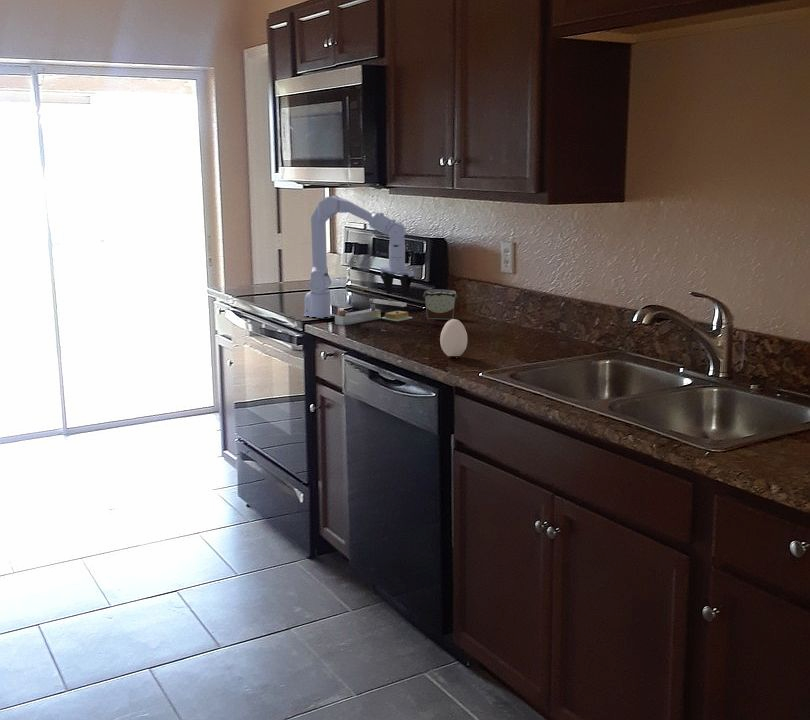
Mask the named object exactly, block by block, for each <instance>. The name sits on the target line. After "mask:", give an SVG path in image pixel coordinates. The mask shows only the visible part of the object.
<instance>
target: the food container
mask: <svg viewBox="0 0 810 720" xmlns="http://www.w3.org/2000/svg"><path fill="white" fill-rule="evenodd" d="M422 297H423V298H424V300H425V309H426V310H425V311H426V318H427V319H426V320H452V319H454V314H455V304H456V303H455V302H456V298H458V295H457V292H456V291H455V290H451V289H428V290H425V291H424V293H423V295H422Z"/></svg>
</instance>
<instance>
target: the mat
mask: <svg viewBox="0 0 810 720" xmlns="http://www.w3.org/2000/svg"><path fill="white" fill-rule="evenodd" d="M381 319H382V320H388V321H394V322H401V321H402V322H403V321H406V320H411V319H413V317H412V316H408V317H406V318H401V319H396V320H395V319H388V318H385V316H382V317H381Z"/></svg>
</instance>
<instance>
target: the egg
mask: <svg viewBox="0 0 810 720" xmlns="http://www.w3.org/2000/svg"><path fill="white" fill-rule="evenodd" d="M439 341H440V342H439V343H440V348H441V350H442V351H443V353H444V354H445V355H446V356H447V357H449V356H459V357H460V356H461V355H462V354H464V352H465V351H466V349H467V347H468V346H467V345H468V333H467V331H466V328H465V326H464V324H463V323H462V322H461V321H460V320H459V319H455V318H453V319H448V321H447V322H445V324H444V326H443V327H442V330H441V332H440V337H439Z"/></svg>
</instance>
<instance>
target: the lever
mask: <svg viewBox="0 0 810 720" xmlns="http://www.w3.org/2000/svg"><path fill="white" fill-rule="evenodd" d="M368 299H369V300H368V301H369V302H368V303H369V304H370V303H375V304H380V305H388V306H392V307H393V306H395V307H401V308H404V307H407V302H404V301H403V302H402V301H395V300H388V299H380V298H368Z"/></svg>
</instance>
